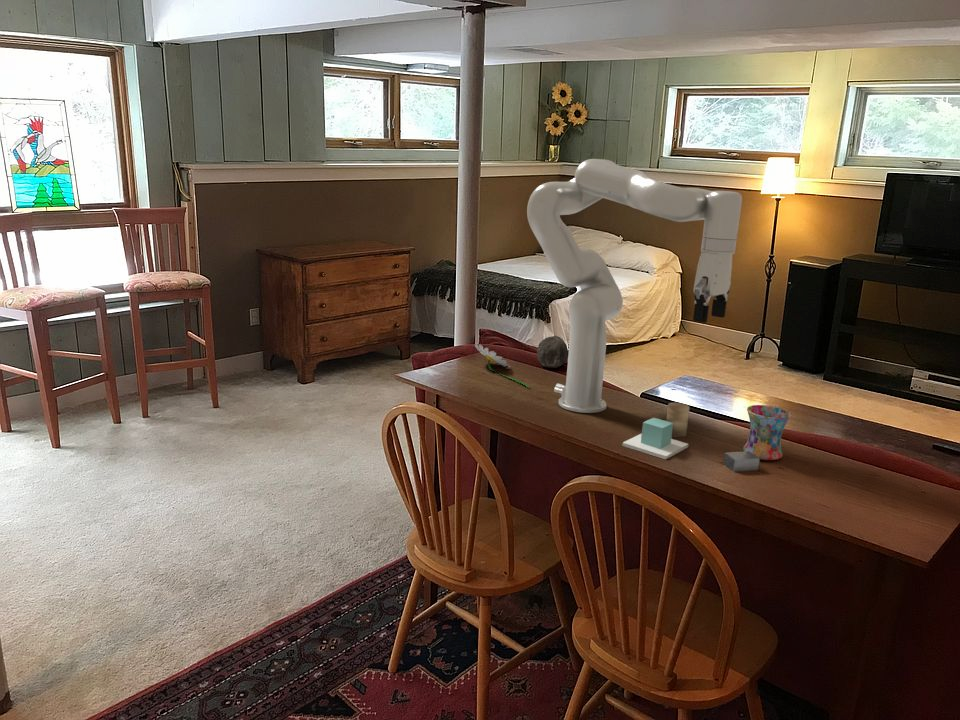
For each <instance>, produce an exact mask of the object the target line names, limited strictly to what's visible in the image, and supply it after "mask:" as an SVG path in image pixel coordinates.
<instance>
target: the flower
mask: <svg viewBox="0 0 960 720" xmlns="http://www.w3.org/2000/svg"><path fill="white" fill-rule="evenodd" d="M474 347H475V348H476V349H477V351H478V352H480V354H481V355H482V356H485V358H486V359H487V360H488V361H487V366H488V370H490V371H491V370H492V371H495V370H494V369H493V368H492V367H491V363H490V362H492V363H495V364H498V365H500V366H503V367H506V366H508V367H507V368H511V367H512V366H511V365H510V364H509V363H508V360H506V359H503V356H501V355H497V352H495V350H490V351H489V347H484V346H483V345H482V344H477V343H475V344H474ZM492 371H491V372H492ZM500 374H501V373H500ZM501 375H503V376H506V377H508V378H510V379H512V380H511V381H513V380H515V381H516V383H518V382H519V383H518V384H520V383H521V384H520V385H522V384H523V385H525V386H526V387H525V386H524V387H525V388H527V387H528V388H529V387H530V386H528V385H527V384H526V383H524V382H522V381H520V380H517V379H516V378H512V377H510V376H507V375H504V374H501ZM508 378H507V379H508ZM510 379H509V380H510ZM515 381H514V382H515ZM523 385H522V386H523ZM528 388H527V389H528Z"/></svg>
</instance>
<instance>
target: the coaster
mask: <svg viewBox="0 0 960 720" xmlns="http://www.w3.org/2000/svg"><path fill="white" fill-rule="evenodd" d="M641 435H642V433H639V434H637V435H635V436H633V437H631V438H629V439H627V440H624V441H623V442H622V444H621V446H622V447H624V448H628V449H630V450H631V449H632V450H634V451H637V452H640V453H644V454H647V455H650V456H654V457H657V458H660V459H663V460H667V459H669V458H671V457H673V456H675V455H677V454H678V453H680V452H682V451H684V450H686V449H688V448H689V443H687V442H683V441H681V440H677V439H673V438H671V444H669V445H667V446H665V447H663V448H661V449H659V448H655V447H652V446H649V445H646V444H643V443H641Z"/></svg>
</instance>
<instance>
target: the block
mask: <svg viewBox="0 0 960 720" xmlns="http://www.w3.org/2000/svg"><path fill="white" fill-rule="evenodd" d="M641 429H642V430H641V434H642V435H641V443H643V444H646V445H649V446H652V447H655V448H659V449H661V448H663V447H665V446H667V445H669V444H671V439H672V438H673V436H672V429H673V423H671V422H667V421H666V420H662V419H660V418H657V417H652V418H650V419H647V420H645V421H644V422H642V427H641Z"/></svg>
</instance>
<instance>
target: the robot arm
mask: <svg viewBox="0 0 960 720" xmlns="http://www.w3.org/2000/svg"><path fill="white" fill-rule="evenodd" d="M602 199H605V200H609V201H612V202H615V203H618V204H622V205H624V206H629V207H631V208H632V209H636V210H639V211H641V212H643V213H646V214H648V215H649V214H650V215H652V216H656V217H659V218H663V219H666V220H670V221H673V222H677V223H684V222H685V223H686V222H693V221H695V222H696V221H703V220H704V221H703V228H702V229H703V230H702V239H701V247H700V255H699V259H698V263H697V267H696V272H695V277H694V284H693V294H694V302H693V304H694V309H693V316H692V317H693V318H692V319H693V320H692V321H693V322H697V323H703V324H706V323H707V322H708V317H709V309H710V305H708V304H709V303H710V300H711V298H713V297H714V298H713V299H712V305H711V306H712V307H711V311H710V313H711V316H712V317H716V318H720V319H721V318H722V319H723V318H725V316H726V310H727V303H728V299H729V296H728V295H729V293H730V288H731V284H732V279H731V278H732V271H733V270H732V269H733V255H735V254H736V247H737V239H738V232H739V224H740V220H741V219H740V217H741V212H742V211H741V210H742V203H743V197H742V194H741V193H740V192H738V191H733V190H732V191H731V190H708V189H705V188H704V189H703V188H698V187H681V186H676V185H672V184H669V183H664V182H661V181H659V180H655V179H653V178H650V177H648V176H647V175H646V173H645V172H643V171H642V170H638V169H634V168H631V167H626V166H623V165H618V164H617V163H616V162H614V161H612V160H609V159H603V158H601V159H599V158H589V159H586V160H583V161H582V162H580V163H579V164H578V166H577V168H576V170H575V173H574V177H573V178H572V179H570V180H568V181H548V182H545V183H544V182H543V183H542V184H540V185H539V186H537V187H536V188H535V189H534V190H533V192H532V193H531V194H530V196H529V199H528V202H527V208H526V214H527V215H526V216H527V221H528V224H529V227H530V230H531V231H532V232H533V234H534V236H535V238H536V240H537V242H538V244H539V245H540V247H541V249H542V251H543V253H544V256H545V257H546V259H547V261H548V263H549V265H550V267H551V270H552V271H553V273H554V274H555V276H556V278H557V280H558V282H559V283H560V284H561V285H562V286H564V287H567V288H577V287H579V288H580V290H579V291H578V292H576V293H575V294H574V295H573V296H572V298H571V299H570V302H569V306H568V321H569V339H568V340H569V341H568V357H567V370H566V379H565V381H566V382H565V385H564V384H562V383H556V384H555V387H554V389H553V391H554V392H555V393H557V394H561V397H560V398H559V399H558V405H559V407H561V408H562V409H564V410H567V411H571V412H575V413H580V414H581V413H582V414H584V413H585V414H595V413H601V412H603V411H605V410H606V409H607V405H608V404H607V402H606V401H605V400H604V399H602V393H603V392H602V391H603V382H604V371H605V362H606V352H607V351H606V350H607V331H606V321H609V320H611V319H614V318H615V317H616V316H618V315H619V314H620V312H621V311H622V308H623V304H624V303H623V302H624V300H623V296H622V292H621V290H620V288H619V286H618V284H617V283H616V281H615V279H614V276H613V275H612V273H611V271H610V270H609V268H608V266H607V264H606V262H605V260H604V258H603V257H602V256H601V254H599V253H598V251H595V250H593V249H591V248H585V247H584V248H581V247H580V246H579V245H578V243H577V242H576V240H575V238H574V236H573V233H572V232H571V230H570V228H569V227H568V226H567V225H566V224H565V223H564V222H563V220H562V218H561V216H565V215H566V216H567V215H568V216H570V215H573V214H576V213H579V212H581V211H582V210H585V209H586V208H589V207H590V206H592V205H593V204H595V203H597V202H599V201H600V200H602Z"/></svg>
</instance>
